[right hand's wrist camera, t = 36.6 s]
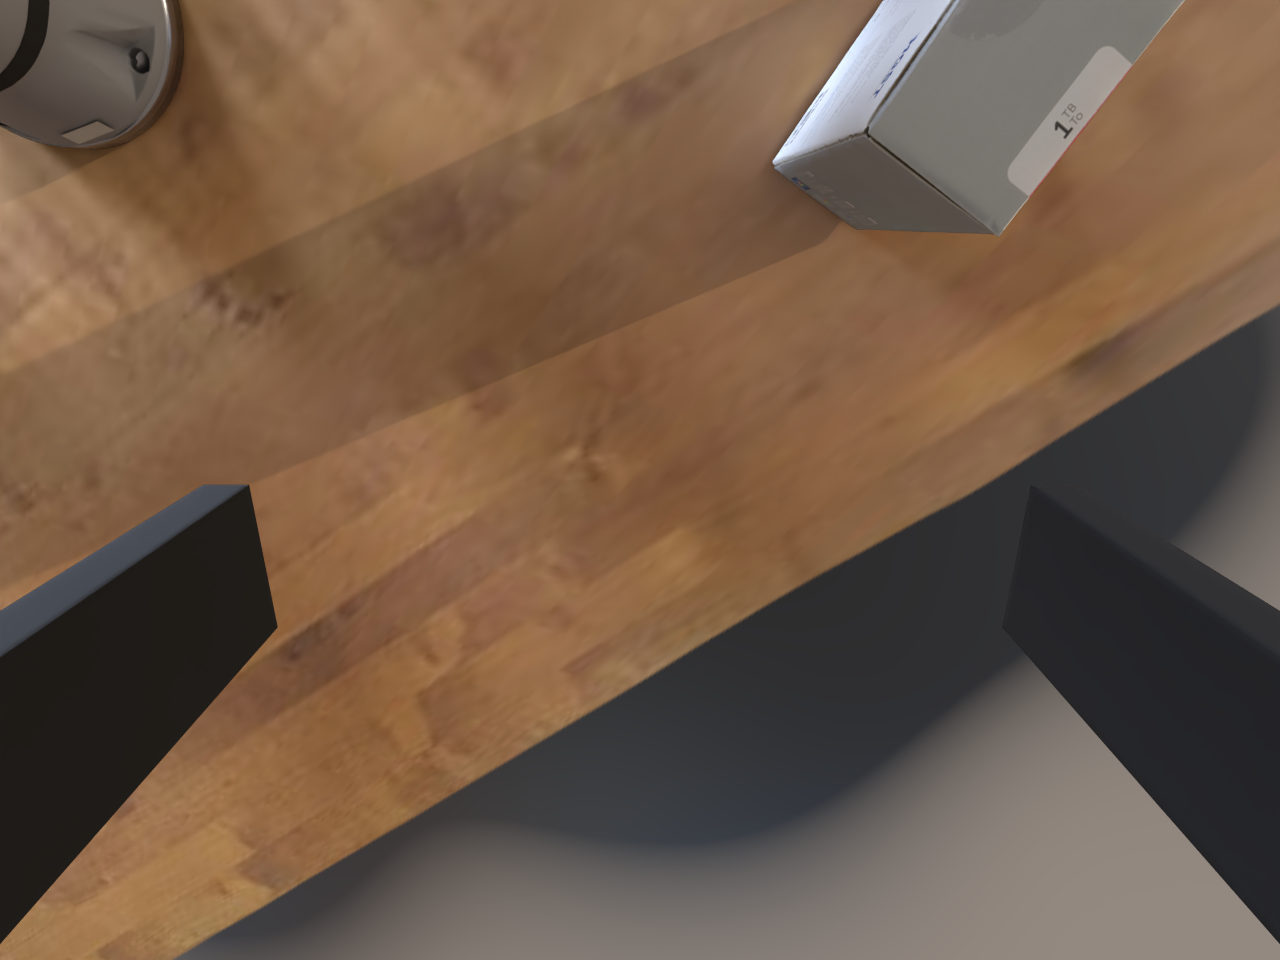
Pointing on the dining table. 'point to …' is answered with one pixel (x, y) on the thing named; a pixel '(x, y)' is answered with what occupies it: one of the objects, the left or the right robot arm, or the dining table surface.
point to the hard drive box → (961, 107)
